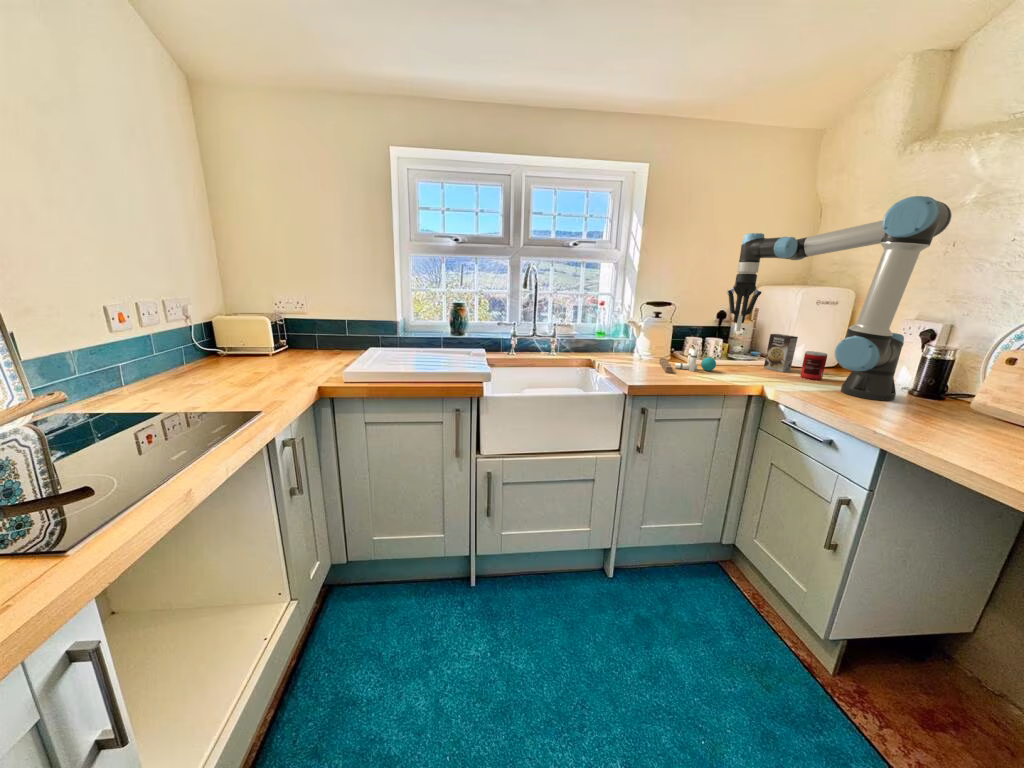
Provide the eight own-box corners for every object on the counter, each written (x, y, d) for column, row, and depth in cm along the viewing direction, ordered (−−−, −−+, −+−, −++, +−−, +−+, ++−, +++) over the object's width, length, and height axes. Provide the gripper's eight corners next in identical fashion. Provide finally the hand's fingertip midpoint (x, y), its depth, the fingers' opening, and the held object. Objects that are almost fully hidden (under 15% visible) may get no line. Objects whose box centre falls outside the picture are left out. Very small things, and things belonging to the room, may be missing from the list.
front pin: (697, 364, 180) (676, 362, 182) (696, 370, 181) (675, 368, 182) (696, 364, 183) (675, 362, 185) (695, 370, 183) (674, 368, 185)
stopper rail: (671, 373, 174) (672, 367, 173) (665, 372, 174) (666, 367, 174) (664, 363, 195) (665, 358, 194) (659, 362, 195) (659, 357, 195)
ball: (700, 363, 178) (706, 374, 179) (713, 356, 176) (720, 367, 177) (697, 360, 184) (703, 371, 185) (710, 353, 182) (716, 364, 183)
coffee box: (762, 368, 191) (769, 333, 187) (771, 367, 194) (777, 333, 190) (782, 372, 183) (790, 336, 179) (791, 371, 186) (798, 336, 182)
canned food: (814, 376, 177) (820, 351, 175) (826, 381, 170) (832, 355, 167) (795, 375, 178) (801, 350, 175) (806, 380, 170) (812, 354, 168)
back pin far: (692, 369, 183) (695, 349, 181) (686, 368, 184) (689, 349, 182) (691, 368, 186) (694, 348, 184) (685, 367, 186) (688, 348, 184)
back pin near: (695, 371, 179) (698, 351, 176) (689, 371, 179) (692, 350, 177) (694, 370, 181) (697, 350, 179) (688, 370, 181) (691, 350, 179)
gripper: (761, 274, 171) (750, 330, 177) (727, 273, 173) (718, 328, 179) (767, 273, 164) (756, 332, 170) (732, 272, 166) (723, 330, 172)
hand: (737, 330), depth 175 cm, fingers closed
